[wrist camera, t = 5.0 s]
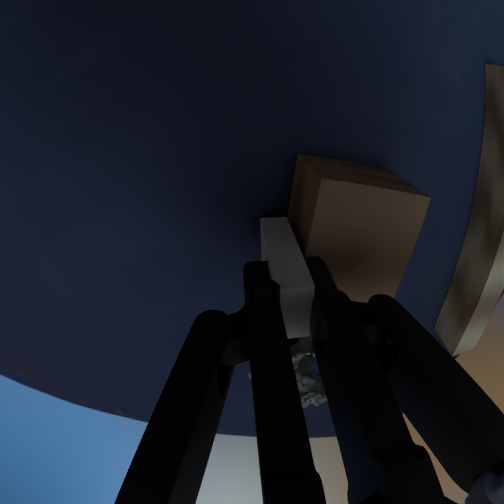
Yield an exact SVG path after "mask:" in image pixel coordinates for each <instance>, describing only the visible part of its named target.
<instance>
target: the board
mask: <svg viewBox="0 0 504 504" xmlns="http://www.w3.org/2000/svg"><path fill="white" fill-rule="evenodd" d="M485 78H486V86H485V116H484V130H483V140H482V149H481V157H480V165H479V171H478V178H477V183H476V189H475V194H474V199H473V204H472V209H471V213H470V218H469V222H468V226H467V230H466V234H465V238H464V242H463V245H462V249H461V252H460V256H459V259H458V262H457V266H456V269H455V272H454V275H453V278H452V281H451V284H450V287H449V290H448V293H447V295H446V298H445V301H444V303H443V306H442V309H441V311H440V314H439V316H438V319H437V321H436V324H435V326H434V328H435V330H436V331H437V333H438V334H439V336H440V338H441V339H442V341H443V342H444V344H445V345H446V347H447V349H448V350H449V352H450V353H451V355H452V356H454V355H457V354H460V353H463V352H466V351H469V350H472V349H474V347H475V346H476V344H477V342H478V341H479V339H480V337H481V335H482V333H483V331H484V329H485V327H486V325H487V323H488V321H489V319H490V317H491V315H492V313H493V311H494V309H495V307H496V305H497V302H498V300H499V298H500V296H501V293H502V291H503V289H504V66H500V65H490V64H485Z"/></svg>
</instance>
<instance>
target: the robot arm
mask: <svg viewBox="0 0 504 504" xmlns="http://www.w3.org/2000/svg"><path fill="white" fill-rule="evenodd" d="M260 224H261V260H262V261H253V262H246V264H245V265H244V267H243V278H244V294H245V305H244V307H243V308H242V309H241V310H239V311H238V312H236V313H234V314H231V315H227V314H226V313H224V312H223V311H219V310H208V311H205V312H202V313H201V314H199V315H198V316H197V317H196V319H195V320H194V323H193V325H192V327H191V329H190V331H189V333H188V336H187V338H186V340H185V342H184V344H183V346H182V349H181V351H180V353H179V355H178V357H177V360H176V362H175V364H174V366H173V368H172V371H171V373H170V375H169V377H168V380H167V382H166V384H165V386H164V389H163V391H162V393H161V395H160V398H159V400H158V402H157V404H156V407H155V409H154V411H153V413H152V416H151V418H150V420H149V423H148V425H147V427H146V430H145V432H144V434H143V436H142V439H141V441H140V444H139V446H138V449H137V451H136V453H135V455H134V458H133V460H132V462H131V465H130V467H129V469H128V472H127V475H126V477H125V479H124V481H123V484H122V486H121V489H120V491H119V493H118V496H117V499H116V501H115V503H114V504H195V503H196V500H197V496H198V493H199V489H200V486H201V483H202V479H203V476H204V473H205V469H206V466H207V462H208V459H209V455H210V452H211V449H212V445H213V441H214V438H215V435H216V431H217V428H218V424H219V421H220V417H221V414H222V410H223V407H224V403H225V400H226V396H227V393H228V389H229V386H230V382H231V378H232V375H233V371H234V368H235V365H236V364H239V363H242V362H245V361H248V360H250V368H251V380H252V391H253V402H254V413H255V424H256V435H257V445H258V456H259V466H260V476H261V486H262V496H263V504H326V499H325V494H324V489H323V484H322V480H321V478H320V475H319V474H318V473H317V471H316V469H315V466H314V462H313V457H312V452H311V447H310V442H309V437H308V432H307V427H306V422H305V417H304V413H303V408H302V403H301V398H300V393H299V389H298V384H297V379H296V375H295V370H294V365H293V361H292V356H291V351H290V347H289V342H288V339H289V338H299V337H308V336H309V334H310V328H311V331H312V335H313V337H312V344H311V351H310V357H313V352H314V354H315V358H316V361H317V365H318V368H319V372H320V376H321V379H322V383H323V387H324V390H325V394H326V398H327V401H328V405H329V409H330V413H331V416H332V420H333V424H334V428H335V432H336V436H337V440H338V443H339V447H340V451H341V455H342V459H343V463H344V467H345V472H346V476H347V480H348V493H347V495H348V504H457V503H456V502H454V501H452V500H450V499H449V498H447V497H445V496H444V494H443V491H442V488H441V485H440V483H439V480H438V477H437V474H436V471H435V469H434V466H433V463H432V461H431V458H430V456H429V454H428V452H427V450H426V449H425V448H424V447H423V446H420V445H416V444H415V443H414V442H413V440H412V438H411V435H410V433H409V430H408V428H407V425H406V423H405V420H404V418H403V415H402V413H401V410H402V411H403V413H404V414H405V415H406V417H407V418H408V419H409V421H410V422H411V423H412V425H413V426H414V428H415V429H416V430H417V432H418V433H419V434H420V436H421V437H422V439H423V440H424V441H425V443H426V444H427V445H428V447H429V448H430V449H431V451H432V452H433V454H434V455H435V457H436V458H437V459H438V461H439V462H440V463H441V465H442V466H443V468H444V469H445V471H446V472H447V473H448V475H449V476H450V477H451V478H452V480H453V481H454V482H455V483H456V484H457V485H458V486H459V487H460V488H461V489H462V490H464V491H465V492H467V493H468V494H469V496H468V497H467V498H466V500H465V504H504V414H503V413H502V412H501V410H500V409H499V408H498V407H497V406H496V405H495V403H494V402H493V401H492V400H491V399H490V398H489V397H488V395H487V394H486V393H485V392H484V391H483V390H482V389H481V387H480V386H479V385H478V384H477V383H476V382H475V381H474V380H473V379H472V377H471V376H470V375H469V374H468V373H467V372H466V371H465V370H464V369H463V368H462V367H461V366H460V364H459V363H458V362H457V361H456V360H455V359H454V358H453V357H452V356H451V355H450V354H449V353H448V352H447V351H446V350H445V349H444V348H443V347H442V345H441V344H440V343H439V342H438V341H437V340H436V339H435V338H434V337H433V336H432V335H431V334H430V333H429V332H428V331H427V330H426V329H425V328H424V327H423V326H422V325H421V324H420V323H419V322H418V321H417V320H416V319H415V318H414V317H413V316H412V315H411V314H410V313H409V312H408V311H407V310H406V309H405V308H404V307H403V306H402V305H401V304H399V303H398V302H397V301H396V300H395V299H394V298H392V297H391V296H388V295H386V294H376V295H373V296H371V297H370V298H369V300H368V303H365V302H356V301H352V300H350V299H349V297H348V296H347V294H346V293H344V292H343V291H341V290H338V288H337V286H336V284H335V282H334V280H333V277H332V275H331V274H330V271H329V269H328V267H327V265H326V263H325V261H323V260H322V259H321V258H319V257H318V256H315V257H303V255H302V253H301V250H300V248H299V245H298V243H297V241H296V238H295V236H294V233H293V231H292V229H291V226H290V224H289V222H288V219H287V217H274V218H260ZM388 340H389V341H390V343H389V341H388ZM399 407H400V408H399ZM400 409H401V410H400Z"/></svg>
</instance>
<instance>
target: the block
mask: <svg viewBox="0 0 504 504" xmlns="http://www.w3.org/2000/svg"><path fill="white" fill-rule="evenodd" d="M430 199H431V197H429V196H428V195H426V194H425V193H424V192H422V191H421V190H419V189H418V188H416V187H415V186H413V185H412V184H410V183H409V182H407V181H406V180H404V179H403V178H401V177H399V176H398V175H396V174H395V173H393V172H392V171H390V170H388V169H384V168H379V167H374V166H369V165H364V164H359V163H353V162H348V161H342V160H336V159H330V158H324V157H317V156H310V155H303V154H298V156H297V163H296V169H295V175H294V181H293V187H292V193H291V199H290V204H289V210H288V216H287V219H288V222H289V224H290V226H291V229H292V231H293V233H294V236H295V238H296V241H297V243H298V245H299V248H300V250H301V253H302V255H303V257H315V256H318V257H319V258H321V259H322V260H323V261H325V263H326V265H327V267H328V269H329V271H330V274H331V275H332V277H333V280H334V282H335V284H336V286H337V288H338V290H341V291H343V292H344V293H346V294H347V296H348V297H349V299H350V300H352V301H356V302H365V303H368V300H369V298H370V297H371V296H373V295H376V294H386V295H388V296H391V297H392V298H394V297H395V294H396V292H397V290H398V287H399V285H400V283H401V280H402V278H403V275H404V273H405V270H406V268H407V265H408V263H409V260H410V258H411V255H412V252H413V250H414V247H415V244H416V241H417V239H418V236H419V233H420V230H421V227H422V224H423V221H424V218H425V215H426V212H427V209H428V205H429V202H430Z"/></svg>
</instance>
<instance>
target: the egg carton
mask: <svg viewBox="0 0 504 504" xmlns="http://www.w3.org/2000/svg"><path fill="white" fill-rule="evenodd" d="M312 337H313V335H312V332H311V331H310V334H309V336H308V337H299V339H298V341H297V343H296V344H295V345H293V346H291V347H290V351H291V356H292V361H293V365H294V370H295V375H296V379H297V384H298V389H299V393H300V398H301V403H302V408H303V407H304V408H307V406H308V405H309V404H314V405H316V406H319V405H320V404H322V403H323V402H325V401H327V398H326V394H325V390H324V387H323V383H322V379H321V376H317V375H315V374H313V371H312V367H311V363H310V359H309V357H308V356H307V355H310V351H311V344H312ZM305 354H307V355H305ZM313 357H315V354H314V352H313ZM248 376H249V379H250V380H251V374H250V373H248Z"/></svg>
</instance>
